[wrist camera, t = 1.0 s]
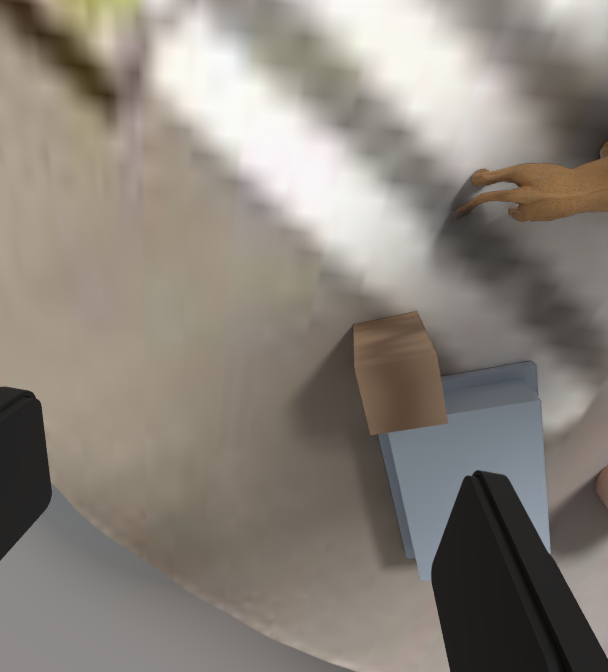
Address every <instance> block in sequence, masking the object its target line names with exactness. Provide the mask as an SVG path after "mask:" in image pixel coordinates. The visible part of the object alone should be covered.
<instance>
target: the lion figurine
mask: <svg viewBox="0 0 608 672" xmlns="http://www.w3.org/2000/svg"><path fill="white" fill-rule="evenodd" d="M502 181H503V182H510V183H515V184H517V185H518V186H519V187H520V188H518V189H513V190H504V191H494V192H488V193H483V194H481V195H479V196H477V197H476V198H474V199H473V200H471V201H470V202H469V203H468V204H466V205H464V206H461V207H459V208H458V209H457V210H456V211H455V212H454V213H453V214H452V216H451V217H452V219H453V220H457V219H459V218H461V217H463V216H465V215H467V214H469V213H470V212H471V211H472V209H474V208H475V207H476V206H477V205H479V204H481V203H484V202H488V201H507V202H515V203H519V204H516V205H514V206H512V207H510V208H509V209H508V213H509V214H510V215H512V216H513V217H514V218H515V219H516V220H519V221H522V222H525V221H527V220H529V221H551V220H555V219H558V218H563V217H567V216H570V215H574V214H577V213H582V212H602V211H608V141H607V142H606V143H605V144H604V145H603V147H602V148H601V150H600V159H598V160H596V161H592V162H589V163H585V164H582V165H580V166H578V167H576V168H574V169H569V168H566V167H563V166H560V165H555V164H546V163H542V164H536V163H527V164H520V165H516V166H512V167H509V168H505V169H501V170H496V171H489V170H486V169H480V170H478V171H476V172H475V173H474V174H473V176H472V184H473V186H475V187H483V186H486V185H491V184H494V183H497V182H502Z"/></svg>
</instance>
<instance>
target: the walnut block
mask: <svg viewBox="0 0 608 672" xmlns="http://www.w3.org/2000/svg"><path fill="white" fill-rule="evenodd" d="M353 331H354V369H355V373H356V378H357V382H358V386H359V390H360V394H361V399H362V403H363V407H364V411H365V415H366V419H367V424H368V428H369V432H370V435H377V434H383V433H390V432H396V431H403V430H409V429H416V428H423V427H429V426H436V425H442V424H448V419H447V413H446V407H445V400H444V394H443V388H442V382H441V375H440V369H439V363H438V356H437V352H436V350H435V348H434V346H433V344H432V342H431V340H430V338H429V336H428V334H427V332H426V329H425V327H424V325H423V323H422V321H421V319H420V317H419V315H418V313H417V311H415V312H410V313H405V314H401V315H396V316H391V317H386V318H381V319H376V320H371V321H367V322H362V323H357V324H353Z"/></svg>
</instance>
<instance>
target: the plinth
mask: <svg viewBox="0 0 608 672" xmlns="http://www.w3.org/2000/svg"><path fill="white" fill-rule="evenodd" d="M441 382H442V388H443V394H444V400H445V407H446V413H447V419H448V424H442V425H436V426H429V427H423V428H416V429H409V430H403V431H396V432H390V433H383V434H378V437H379V441H380V445H381V450H382V454H383V458H384V463H385V467H386V471H387V476H388V480H389V484H390V489H391V493H392V497H393V502H394V506H395V510H396V515H397V519H398V523H399V528H400V532H401V536H402V541H403V545H404V549H405V554H406V558H407V559H412V558H416V562H417V567H418V571H419V576H420V580H421V581H427V580H431V568H432V563H433V560H434V557H435V555H436V552H437V549H438V547H439V544H440V541H441V538H442V536H443V533H444V530H445V527H446V525H447V522H448V519H449V517H450V514H451V511H452V508H453V506H454V503H455V500H456V498H457V495H458V492H459V489H460V487H461V484H462V481H463V479H464V477H465V476H467V475H469V476H472V475H473V473H474V472H475V471H476V470H481V471H486V472H492V473H498V474H503V475H505V476H507V477H508V479H509V480H510V482H511V484H512V486H513V488H514V490H515V492H516V493H517V495H518V497H519V499H520V501H521V503H522V505H523V506H524V508H525V510H526V512H527V514H528V516H529V518H530V520H531V521H532V523H533V525H534V527H535V529H536V531H537V533H538V534H539V536H540V538H541V540H542V542H543V544H544V546H545V548H546V549H547V551H548V553H549V554H550V555H551V551H550V535H549V520H548V504H547V489H546V473H545V458H544V442H543V427H542V411H541V400H540V398H539V397H538V387H537V372H536V365H535V364H534V363H533V361H527V362H522V363H516V364H510V365H504V366H499V367H493V368H487V369H481V370H476V371H470V372H464V373H458V374H453V375H447V376H441Z"/></svg>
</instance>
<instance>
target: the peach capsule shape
mask: <svg viewBox="0 0 608 672" xmlns="http://www.w3.org/2000/svg"><path fill="white" fill-rule="evenodd" d="M596 492H597V494H598V496H599V498H600V499H601V500H602V502H603V503H604V504H605V506H606V507H607V508H608V465H607V466H606V467H605V468H604V469H603V470H602V471H601V473H600V474H599V476H598V478H597V481H596Z"/></svg>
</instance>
